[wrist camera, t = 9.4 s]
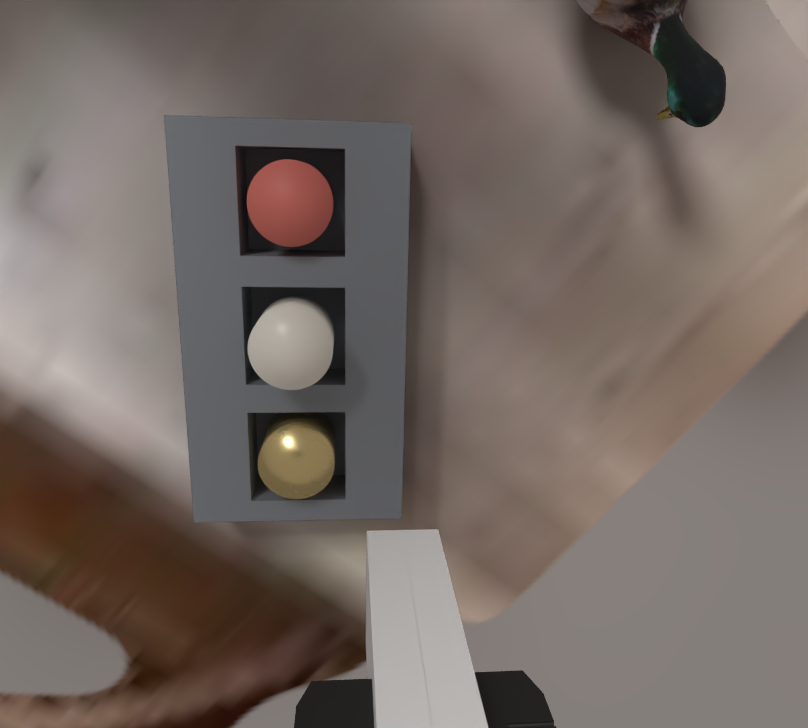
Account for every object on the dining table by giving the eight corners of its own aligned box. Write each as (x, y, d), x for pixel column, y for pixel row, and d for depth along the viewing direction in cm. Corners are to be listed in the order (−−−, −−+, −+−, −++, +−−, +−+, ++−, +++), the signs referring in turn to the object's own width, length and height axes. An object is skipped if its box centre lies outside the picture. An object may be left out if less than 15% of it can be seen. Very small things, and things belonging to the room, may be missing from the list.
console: (208, 490, 41) (193, 522, 37) (184, 122, 35) (163, 115, 31) (396, 487, 42) (401, 518, 38) (404, 128, 36) (411, 123, 32)
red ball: (257, 239, 36) (248, 246, 32) (254, 159, 35) (244, 158, 31) (334, 241, 36) (333, 247, 33) (334, 161, 35) (332, 160, 32)
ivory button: (258, 370, 36) (249, 390, 33) (255, 295, 35) (245, 308, 32) (334, 370, 36) (333, 389, 33) (334, 296, 35) (332, 308, 32)
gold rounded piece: (266, 472, 40) (259, 499, 36) (264, 407, 39) (256, 429, 35) (335, 471, 40) (334, 498, 37) (335, 407, 39) (334, 428, 36)
